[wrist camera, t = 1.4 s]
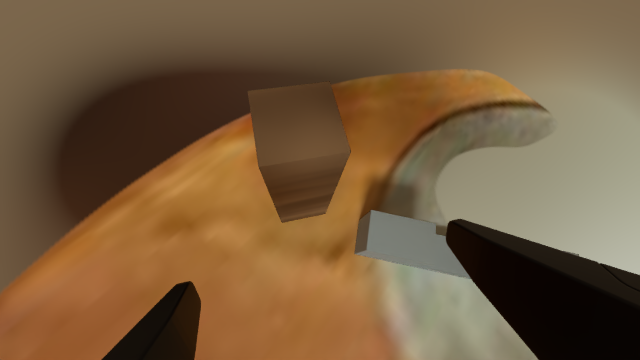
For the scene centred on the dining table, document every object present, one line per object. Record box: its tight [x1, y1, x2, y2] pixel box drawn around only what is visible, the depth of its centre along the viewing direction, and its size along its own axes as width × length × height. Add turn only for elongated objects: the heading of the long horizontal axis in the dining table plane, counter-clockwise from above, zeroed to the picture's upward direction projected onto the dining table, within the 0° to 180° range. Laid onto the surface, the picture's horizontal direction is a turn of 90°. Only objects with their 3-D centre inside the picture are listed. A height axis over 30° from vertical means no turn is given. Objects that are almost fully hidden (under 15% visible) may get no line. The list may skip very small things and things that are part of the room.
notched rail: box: [355, 210, 579, 279], centre depth 19 cm, size 3×16×4 cm, turn 78°
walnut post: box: [248, 81, 351, 223], centre depth 16 cm, size 4×4×12 cm
